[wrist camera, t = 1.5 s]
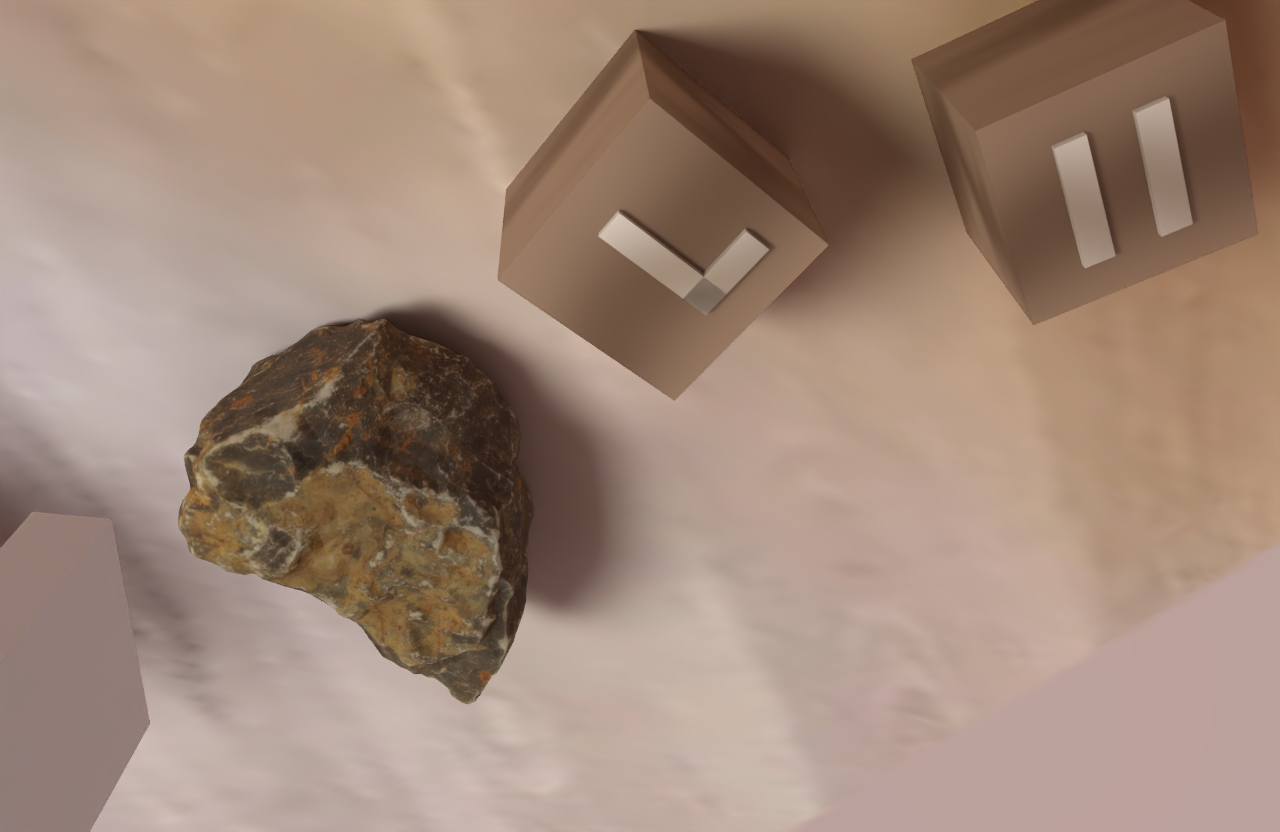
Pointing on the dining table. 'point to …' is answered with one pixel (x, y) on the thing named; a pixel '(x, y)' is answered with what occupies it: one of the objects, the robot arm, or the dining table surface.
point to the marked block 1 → (655, 221)
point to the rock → (373, 495)
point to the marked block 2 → (1091, 144)
